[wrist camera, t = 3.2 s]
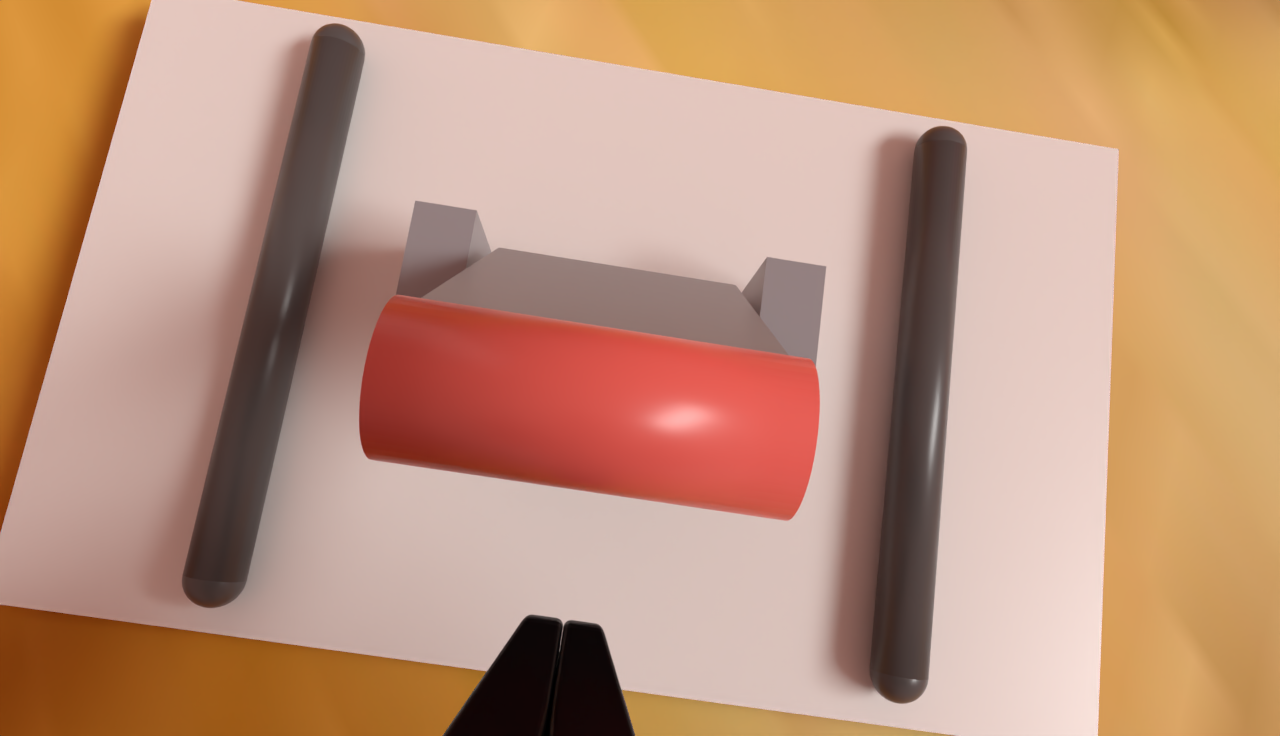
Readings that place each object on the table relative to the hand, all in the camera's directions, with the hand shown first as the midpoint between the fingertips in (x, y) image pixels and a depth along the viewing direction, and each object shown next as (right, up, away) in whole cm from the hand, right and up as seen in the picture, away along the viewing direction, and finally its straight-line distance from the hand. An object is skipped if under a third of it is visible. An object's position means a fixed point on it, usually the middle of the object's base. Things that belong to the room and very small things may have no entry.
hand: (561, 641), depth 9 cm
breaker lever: (0, +4, +5) cm, 6 cm away
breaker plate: (0, +4, +8) cm, 9 cm away
